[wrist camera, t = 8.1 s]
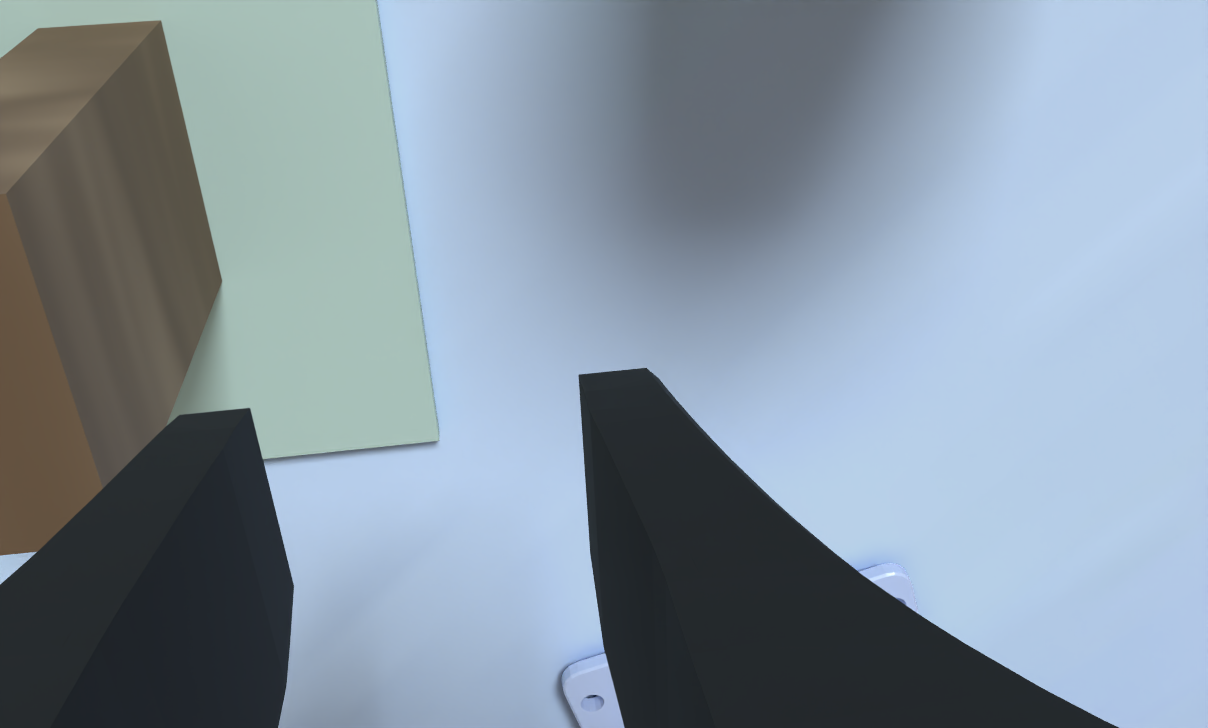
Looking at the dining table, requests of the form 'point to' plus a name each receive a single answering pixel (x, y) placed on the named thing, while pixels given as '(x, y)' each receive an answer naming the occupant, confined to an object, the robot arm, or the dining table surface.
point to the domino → (92, 265)
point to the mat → (291, 216)
